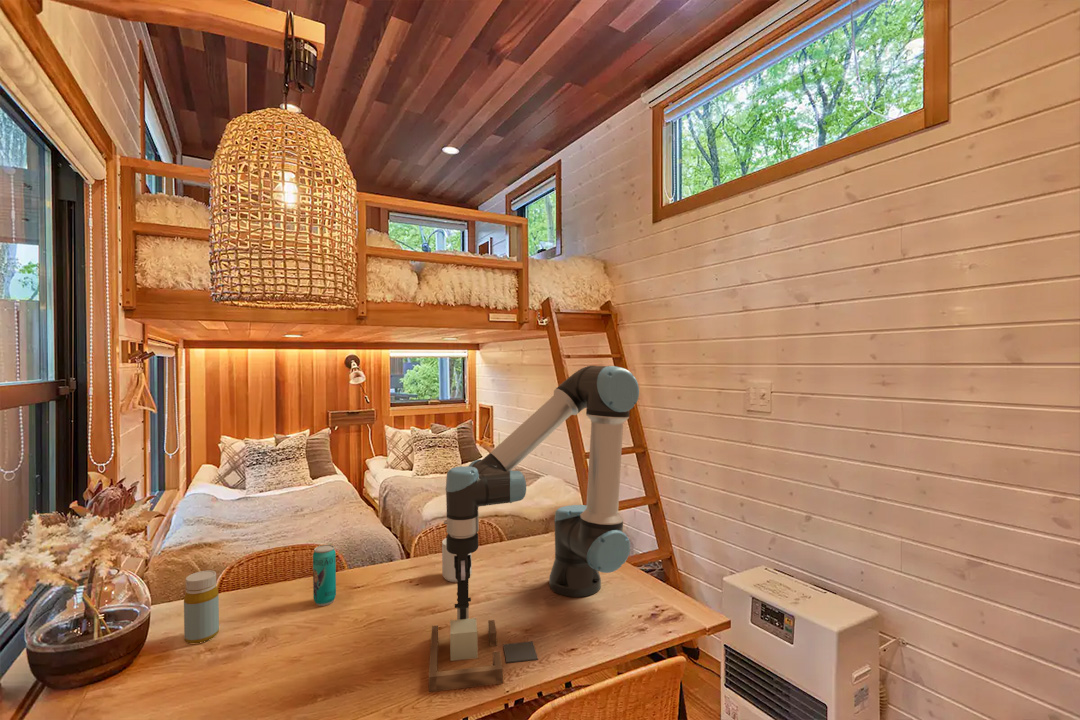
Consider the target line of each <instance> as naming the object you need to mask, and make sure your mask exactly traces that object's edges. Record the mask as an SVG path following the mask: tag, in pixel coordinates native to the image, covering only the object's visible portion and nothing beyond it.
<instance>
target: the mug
mask: <svg viewBox="0 0 1080 720" xmlns="http://www.w3.org/2000/svg"><path fill="white" fill-rule="evenodd" d="M472 554H473V553H470V554H468V555H471V567H470V576H471V575H472V571H473V570H472V569H473V568H472V567H473V566H472V564H473V563H472V561H473V560H472V559H473V558H472ZM454 556H457V555H456V554H451V553H449V552H448V551H447V548H446V538H444V539H442V541H441V561H442V563H441V570H442V573H441V574H442V577H443V578H444V579H445V580H446V581H447V582H451V583H457V579H456V578H455V568H454Z"/></svg>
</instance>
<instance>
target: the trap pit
mask: <svg viewBox="0 0 1080 720" xmlns="http://www.w3.org/2000/svg"><path fill="white" fill-rule="evenodd" d="M502 647H503V651H504V652H503V653H504V656H505V662H506V664H511V663H520V662H522V663H523V662H527V661H528V662H530V661H538V659H539V658H538V655H537V652H536V648H535V645H534V641H533V640H531V641H523V642H521V641H520V642H512V643H504V644H503V645H502Z"/></svg>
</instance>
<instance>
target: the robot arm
mask: <svg viewBox="0 0 1080 720" xmlns="http://www.w3.org/2000/svg"><path fill="white" fill-rule="evenodd" d="M639 397H640V387H639V383H638V380H637V378H636V377H635V376H634V374H633V373H632V372H631V371H630V370H628V369H627V368H624V367H620V366H616V365H610V366H609V365H588V366H583V367H582V368H580V369H578V370H577V371H575V372H574V373H572V374H571V375H570V376H569V377H567V378H566V379H565V380H564V381H563V382H561V384H559V385H558V386H557V387H555V389H554V390H553V396H551V397H550V398H549V399H548V400H547V401H546V402H545V403H544V404H542V405H541V406H540V407H539V408H538V409H537V410H536V411H535V412H534V413H532V414H531V415H530V416H528V418H527V419H526V420H525V421H523V422H522V423H521V424H520V425H519V426H518V427H517V428H516V429H515V430H514V431H513V432H511V433H510V434H509V435H508V436H507V437H506V438H505V439H503V440H502V442H500V443H499V444H498V445H497V446H496V447H495V448H494V449H492V451H490V452H489V453H488V454H487V455H486V456H485V457H484V458H482V459H476V460H473V461H472V462H470V463H469V465H468V466H463V465H462V466H456V467H452V468H450V469H449V470H448V471H447V472H446V481H445V482H446V483H445V497H446V499H445V501H446V503H445V505H446V519H445V520H443V524H444V525H446V534H447V535H446V536H445V537H446V538H445V539H446V548H447V551H448V552H449V553H451V554H456V555H457V556H454V568H455V578H456V579H457V582H456V583H457V584H456V586H457V588H456V590H457V592H456V596H457V598H456V601H457V603H454V609H456V620H460V619H470V617H469V616H470V615H469V608H470V603H469V602H471V600H472V597H471V596H470V597H469V579H470V578H471V575H470V567H471V555H468V554H470V553H472V554H473V553H474V552H476V551H477V550H478V549H479V533H478V532H479V531H480V530H479V529H480V528H479V526H480V525H479V507H486V506H494V505H503V504H512V503H515V502H520V501H522V500H523V499H524V498H525V497H526V493H527V481H526V478H525V475H524V473H523V472H522V471H520V470H513V469H514V468H515V467H517V466H518V465H519V464H520V463H521V462H522V461H523V460H524V459H525V458H526V457H527V456H529V455H530V454H531V453H532V452H533V451H534V450H535V449H536V448H537V447H538V446H540V445H541V444H542V443H543V442H544V440H546V439H547V438H548V437H549V436H550V435H551V434H552V433H554V432H555V431H556V429H558V428H559V427H560V426H561V425H562V424H563V423H565V421H566V420H568V419H569V418H570V417H571V416H572V415H573V416H577V415H578V414H579V413H580V412H582V411H583V410H584V409H586V410H585V411H586V413H585V414H586V416H587V418H588V419H589V420H590V422H591V424H590V426H591V427H590V437H589V438H590V440H589V456H588V459H589V460H588V471H587V472H588V474H587V489H586V490H587V491H586V505H583V504H574V505H573V504H572V505H565V506H561V507H559V508H557V509H555V511H554V521H553V522H554V561H553V565H552V568H551V571H550V574H549V578H548V579H549V581H548V583H549V585H548V586H549V588H550V589H551V590H552V592H554V593H556V594H559V595H561V596H564V597H572V598H580V597H588V596H591V595H593V594H596V593H598V592H599V591H600V590H601V587H602V578H601V574H600V573H602V574H603V573H604V574H605V573H606V574H610V573H613V572H616V571H618V570H619V569H620V568H621V567H622V565H624V564H626V561H627V560H628V558H629V556H630V552H631V541H630V539H629V537H628V536H627V534H626V533H625V532H624V531H623V530H624V517H623V516H622V515H621V514H620V512H619V502H620V484H621V467H622V452H623V451H622V450H623V432H624V431H623V430H624V423H625V422H627V420H628V419H630V412H631V411H630V410H631V409H633V408H634V407H635V405H636V404H637V402H638V400H639Z"/></svg>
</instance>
